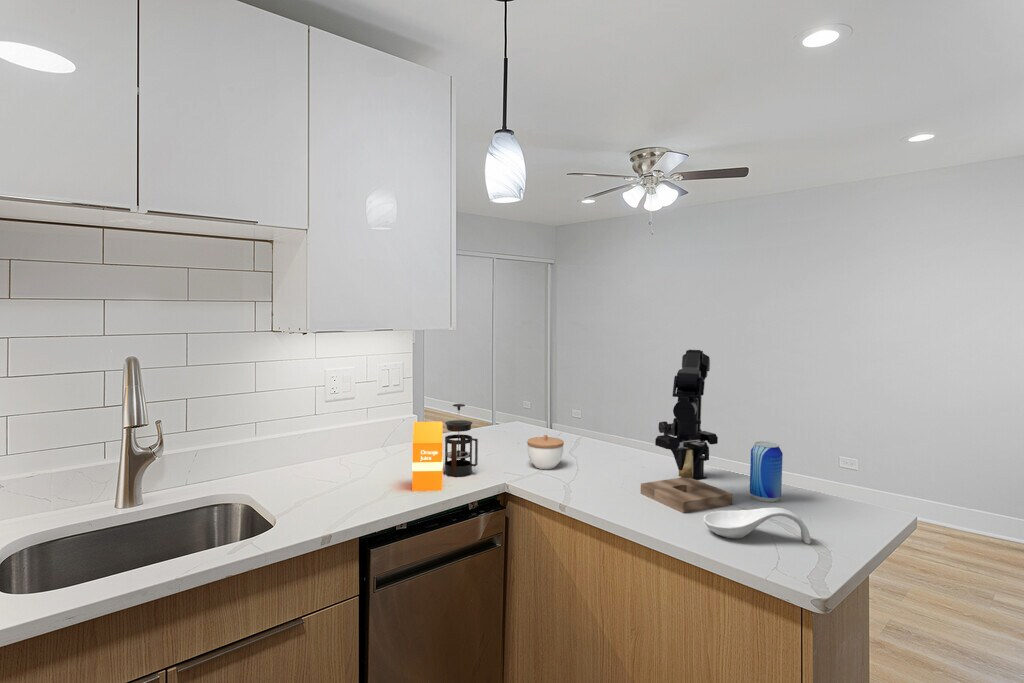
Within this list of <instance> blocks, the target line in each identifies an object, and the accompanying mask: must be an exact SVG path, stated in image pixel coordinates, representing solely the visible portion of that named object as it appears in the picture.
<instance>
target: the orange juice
mask: <svg viewBox="0 0 1024 683" xmlns="http://www.w3.org/2000/svg"><path fill="white" fill-rule="evenodd" d="M412 429H413V432H412V462H411V463H412V464H411V465H412V466H411V467H412V483H411V484H412V485H411V486H412V492H427V491H428V492H432V491H434V492H435V491H437V492H439V491H443V472H444V471H443V469H444V468H443V464H444V463H443V459H444V457H443V456H444V455H443V452H444V449H443V448H444V447H443V446H444V445H443V444H444V443H443V441H444V436H443V421H413V428H412Z"/></svg>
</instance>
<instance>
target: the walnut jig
mask: <svg viewBox="0 0 1024 683" xmlns="http://www.w3.org/2000/svg"><path fill="white" fill-rule="evenodd" d="M640 494H641V495H642V496H645V497H647V498H650V499H651V500H653V501H655V502H658V503H659V504H660V503H661V504H662V505H664V506H666V507H669V508H671V509H674V510H676V511H678V512H679V513H682V514H686V513H687V514H688V513H692V511H693V512H697V511H703V510H707V509H713V508H718V507H719V506H720V507H724V506H729V504H731V505H733V500H734V499H733V498H734V497H733V495H734V493H732V492H729V491H727V490H725V489H721V488H718V487H716V486H714V485H710V484H708V483H706V482H703V481H700V480H699V479H696V480H695V479H692V478H682V477H677V478H676V477H675V478H669V479H662V480H656V481H649V482H643V483H642V482H641V483H640Z"/></svg>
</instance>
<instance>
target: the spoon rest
mask: <svg viewBox="0 0 1024 683" xmlns="http://www.w3.org/2000/svg"><path fill="white" fill-rule="evenodd" d="M774 517H785V518H788V519H790V520H792V521H793V522H795V523H796V524H797V525H798V526H799V528H800V537H801V539H802V540H803V541H802V542H804V543H805V544H807V545H810V544H811V536H810V532H809V529H808V528H807V526H806V524H805V523H804V521H803V520H802V518H801V517H800V516H798V515H797V514H796V513H794V512H793V511H790V510H788V509H786V508H782V507H763V508H761V507H760V508H755V509H754V508H753V509H744V510H742V509H741V510H717V511H711V512H708V513H706V514H705V515H704V516H703V517H702V518H703V519H702V520H703V523H704V524H705V525H706V527H707V528H708V529H709V530H711V532H713V533H714V534H716V535H718V536H721V537H724V538H727V539H742V538H744V537H745V536H747V535H749V534H750V533H751V532H753V531H754V530H755V529H756V528H757V527H759V526H760V525H761V524H762V523H764V522H766V521H767V520H769V519H772V518H774Z"/></svg>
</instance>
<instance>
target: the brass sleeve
mask: <svg viewBox="0 0 1024 683" xmlns="http://www.w3.org/2000/svg"><path fill="white" fill-rule="evenodd" d="M683 448H686V449H687V451H686V455H685V460H684V465H683V469H682V470H679V469H678V478H681V477H682V478H692V477H693V458H694V449H693V448H689V447H683Z"/></svg>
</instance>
